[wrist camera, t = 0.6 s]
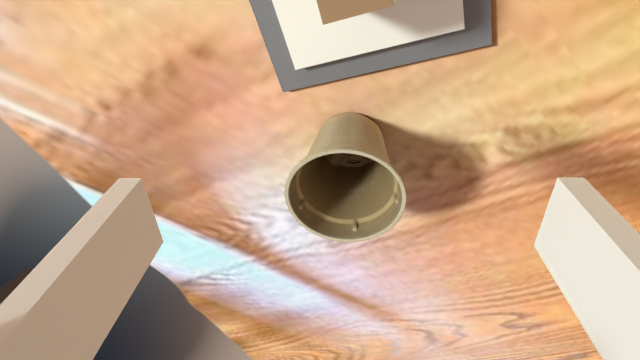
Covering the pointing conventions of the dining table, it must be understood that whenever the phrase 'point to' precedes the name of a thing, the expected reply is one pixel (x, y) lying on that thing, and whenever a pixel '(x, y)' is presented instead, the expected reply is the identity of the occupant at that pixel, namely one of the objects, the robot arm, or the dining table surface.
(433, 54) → the mat
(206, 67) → the dining table surface
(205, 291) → the dining table surface
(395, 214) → the flower pot
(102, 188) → the dining table surface
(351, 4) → the lid
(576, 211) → the robot arm
